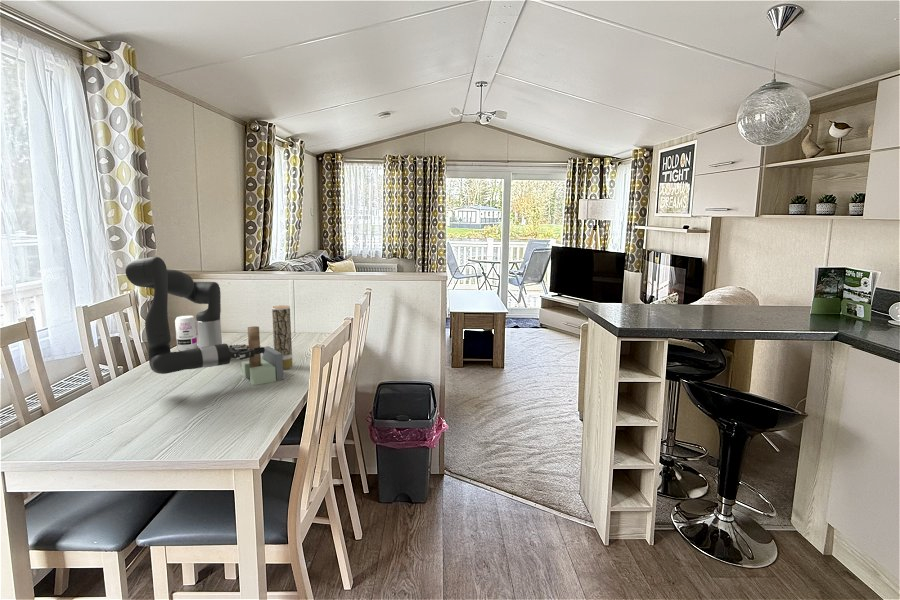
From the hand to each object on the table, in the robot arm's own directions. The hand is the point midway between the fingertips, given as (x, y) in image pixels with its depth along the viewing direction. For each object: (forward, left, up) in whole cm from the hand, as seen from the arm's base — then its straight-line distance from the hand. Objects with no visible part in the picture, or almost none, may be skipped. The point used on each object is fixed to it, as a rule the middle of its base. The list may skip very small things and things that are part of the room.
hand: (261, 348), depth 201 cm
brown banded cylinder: (0, -3, -9) cm, 10 cm away
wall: (0, +4, -11) cm, 12 cm away
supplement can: (-62, -13, -12) cm, 64 cm away
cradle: (0, -1, -11) cm, 11 cm away
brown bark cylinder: (-8, +11, -12) cm, 18 cm away
